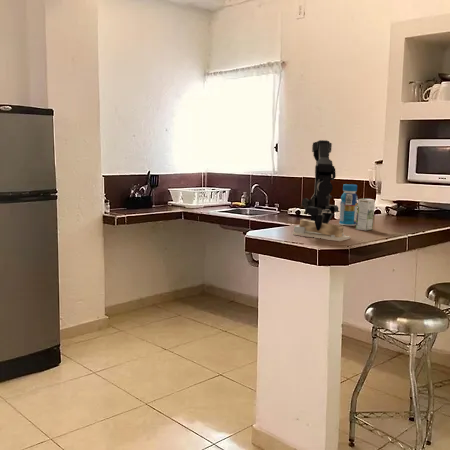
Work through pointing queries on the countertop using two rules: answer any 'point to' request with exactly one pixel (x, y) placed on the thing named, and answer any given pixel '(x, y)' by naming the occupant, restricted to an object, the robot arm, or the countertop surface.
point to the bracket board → (317, 234)
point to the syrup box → (365, 214)
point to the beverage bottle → (348, 205)
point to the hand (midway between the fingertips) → (320, 229)
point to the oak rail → (322, 228)
